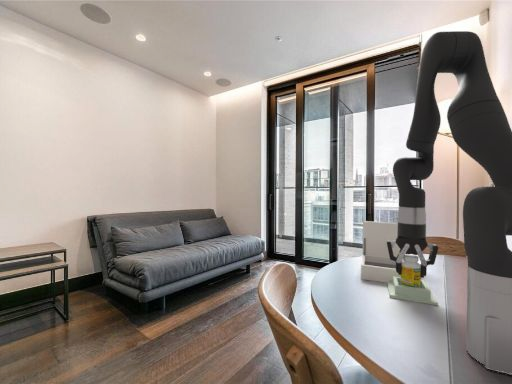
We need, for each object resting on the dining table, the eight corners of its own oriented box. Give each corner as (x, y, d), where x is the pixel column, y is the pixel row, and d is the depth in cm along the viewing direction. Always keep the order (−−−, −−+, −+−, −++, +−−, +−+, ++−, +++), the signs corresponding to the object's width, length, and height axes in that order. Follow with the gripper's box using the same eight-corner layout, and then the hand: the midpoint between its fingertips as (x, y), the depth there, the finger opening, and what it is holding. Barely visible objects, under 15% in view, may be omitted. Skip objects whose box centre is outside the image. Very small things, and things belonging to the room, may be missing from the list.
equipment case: (409, 285, 84) (409, 229, 83) (360, 278, 90) (361, 226, 90) (403, 270, 99) (404, 223, 99) (362, 265, 106) (363, 221, 105)
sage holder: (438, 305, 70) (438, 293, 70) (389, 297, 75) (389, 286, 75) (429, 289, 80) (429, 279, 80) (387, 283, 86) (387, 274, 86)
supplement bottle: (405, 281, 81) (406, 252, 81) (423, 287, 77) (424, 256, 77) (397, 285, 78) (397, 255, 78) (415, 291, 74) (416, 259, 74)
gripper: (386, 221, 77) (385, 275, 77) (442, 224, 71) (441, 283, 71) (384, 219, 84) (384, 268, 84) (436, 221, 78) (435, 275, 78)
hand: (410, 275), depth 77 cm, fingers closed on supplement bottle, 5 cm apart
